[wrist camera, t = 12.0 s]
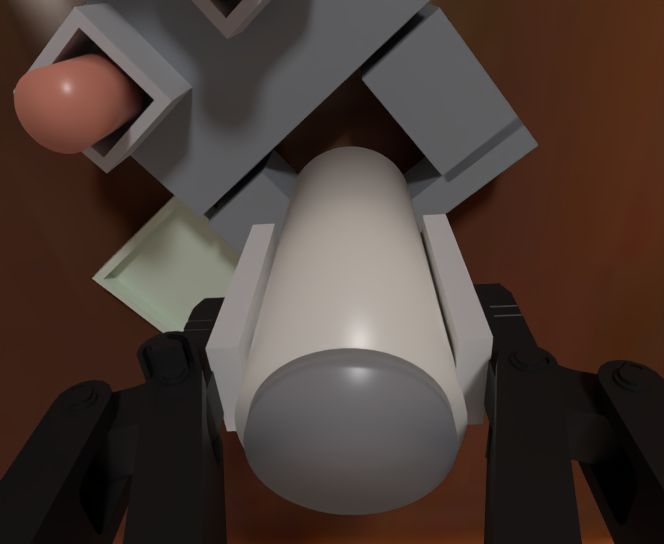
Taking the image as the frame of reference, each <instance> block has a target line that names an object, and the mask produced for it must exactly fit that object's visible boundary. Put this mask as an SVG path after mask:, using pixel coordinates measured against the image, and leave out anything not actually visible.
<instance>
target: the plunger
mask: <svg viewBox="0 0 664 544" xmlns="http://www.w3.org/2000/svg"><path fill="white" fill-rule="evenodd" d="M143 103H144V89H142V88H141V87H140V86H139V85H138V84H137V83H136V82H135V81H134V80H133V79H132V78H131V77H130V76H129V75H128V74H127V73H126V72H125V71H124V70H123V69H122V68H121V67H120V66H119V65H118V64H117V63H116V62H114V61H113V60H112V59H111V58H110V57H109V56H108V55H107V54H106V53H105V52H104V51H98V52H93V53H90V54H86V55H83V56H79V57H76V58H72V59H69V60H65V61H62V62H58V63H55V64H51V65H48V66H44V67H41V68H38V69H34V70H31V71H29V72H28V73H26V74H25V75H24V76H23V77H22V78H21V79H20V80H19V82H18V84H17V86H16V88H15V93H14V105H15V110H16V113H17V116H18V118H19V120H20V122H21V124H22V126H23V127H24V129H25V130H26V131H27V133H28V134H29V135H30V136H31V137H32V138H33V139H34V140H35V141H37V142H38V143H39V144H41V145H42V146H44V147H46V148H48V149H50V150H52V151H55V152H59V153H65V154H72V153H78V152H81V151H83V150H85V149H87V148H88V147H90V146H91V145H93V144H95V143H96V142H98V141H99V140H101V139H102V138H104V137H105V136H107V135H109V134H110V133H112V132H113V131H115V130H116V129H118V128H120V127H121V126H123V125H124V124H126V123H127V122H129V121H131V120H132V119H134V118H135V117H136V116H137V115H138V114H139V112H140V111H141V109H142V107H143Z"/></svg>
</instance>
